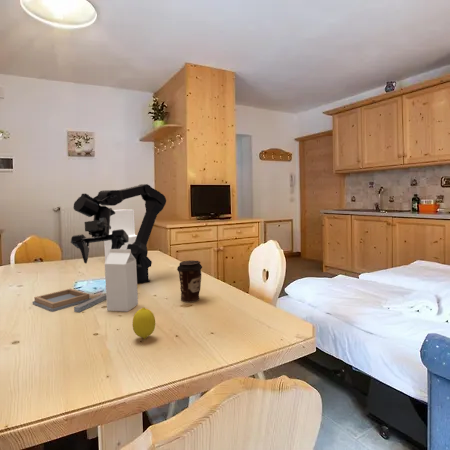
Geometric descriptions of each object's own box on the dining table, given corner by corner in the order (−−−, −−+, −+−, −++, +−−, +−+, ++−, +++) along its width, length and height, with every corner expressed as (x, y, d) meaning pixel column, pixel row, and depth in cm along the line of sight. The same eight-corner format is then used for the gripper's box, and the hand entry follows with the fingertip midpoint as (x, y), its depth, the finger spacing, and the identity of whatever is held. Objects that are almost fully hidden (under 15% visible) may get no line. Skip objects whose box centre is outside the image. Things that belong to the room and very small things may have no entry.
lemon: (135, 334, 87) (133, 304, 87) (157, 333, 88) (155, 303, 87) (131, 344, 82) (129, 312, 81) (154, 342, 82) (153, 310, 81)
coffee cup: (207, 297, 118) (206, 260, 117) (197, 304, 110) (196, 265, 109) (184, 295, 121) (183, 259, 119) (173, 302, 113) (172, 264, 112)
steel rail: (102, 298, 119) (102, 294, 119) (107, 298, 118) (107, 294, 118) (74, 311, 106) (74, 307, 105) (79, 312, 105) (79, 307, 105)
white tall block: (99, 261, 186) (97, 210, 183) (128, 257, 198) (126, 209, 195) (113, 266, 173) (110, 211, 171) (143, 261, 185) (141, 209, 182)
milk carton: (127, 312, 104) (125, 251, 103) (106, 311, 106) (103, 250, 104) (138, 304, 111) (135, 247, 110) (118, 303, 113) (115, 247, 111)
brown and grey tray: (71, 294, 125) (70, 288, 125) (91, 300, 117) (91, 294, 116) (32, 304, 114) (32, 297, 114) (52, 311, 106) (51, 304, 106)
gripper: (65, 214, 116) (59, 255, 109) (118, 207, 116) (116, 248, 109) (80, 228, 126) (76, 267, 119) (129, 222, 126) (128, 261, 118)
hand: (98, 261), depth 116 cm, fingers open, 9 cm apart
